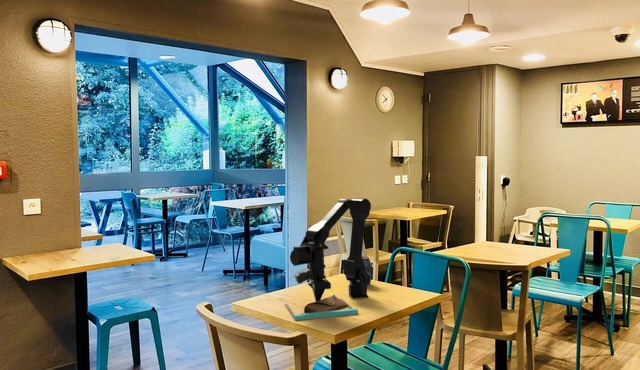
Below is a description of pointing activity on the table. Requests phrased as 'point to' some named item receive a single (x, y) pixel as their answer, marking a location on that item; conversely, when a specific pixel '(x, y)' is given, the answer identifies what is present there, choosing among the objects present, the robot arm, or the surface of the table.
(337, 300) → the sunglasses case
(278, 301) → the table surface
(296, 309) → the table surface
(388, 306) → the table surface
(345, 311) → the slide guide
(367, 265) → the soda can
